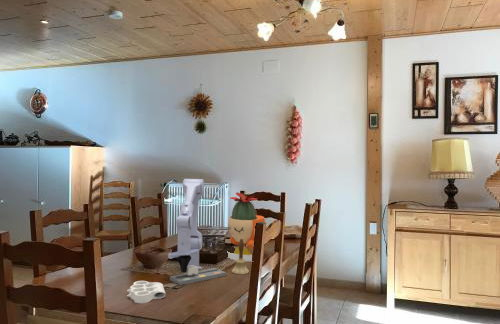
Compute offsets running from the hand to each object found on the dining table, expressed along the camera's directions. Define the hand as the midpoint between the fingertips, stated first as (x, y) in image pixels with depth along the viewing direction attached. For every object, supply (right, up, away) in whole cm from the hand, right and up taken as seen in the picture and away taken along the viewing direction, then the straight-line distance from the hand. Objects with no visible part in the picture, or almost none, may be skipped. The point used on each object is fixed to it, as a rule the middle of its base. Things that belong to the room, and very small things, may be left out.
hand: (183, 272), depth 184 cm
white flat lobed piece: (-12, -4, -20) cm, 23 cm away
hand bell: (+25, -4, +14) cm, 29 cm away
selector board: (+6, -4, +4) cm, 8 cm away
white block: (+4, -1, +1) cm, 4 cm away
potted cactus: (+27, -3, +45) cm, 52 cm away
